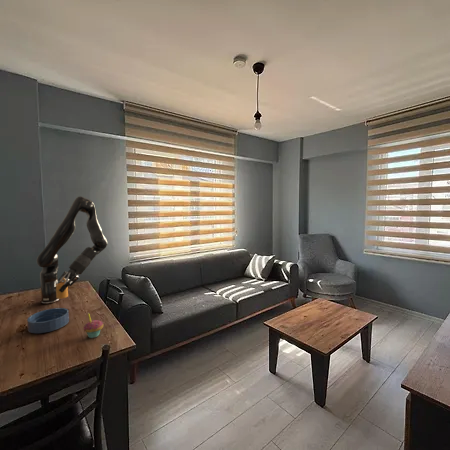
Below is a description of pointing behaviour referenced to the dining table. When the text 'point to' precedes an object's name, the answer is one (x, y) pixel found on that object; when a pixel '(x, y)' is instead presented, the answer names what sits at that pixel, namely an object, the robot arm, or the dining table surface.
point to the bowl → (48, 320)
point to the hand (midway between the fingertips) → (58, 290)
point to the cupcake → (93, 327)
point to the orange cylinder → (61, 294)
